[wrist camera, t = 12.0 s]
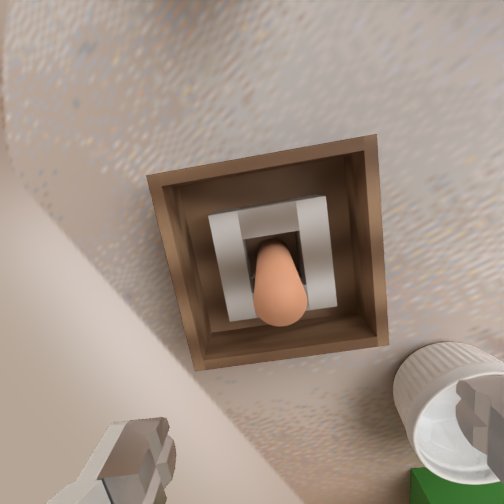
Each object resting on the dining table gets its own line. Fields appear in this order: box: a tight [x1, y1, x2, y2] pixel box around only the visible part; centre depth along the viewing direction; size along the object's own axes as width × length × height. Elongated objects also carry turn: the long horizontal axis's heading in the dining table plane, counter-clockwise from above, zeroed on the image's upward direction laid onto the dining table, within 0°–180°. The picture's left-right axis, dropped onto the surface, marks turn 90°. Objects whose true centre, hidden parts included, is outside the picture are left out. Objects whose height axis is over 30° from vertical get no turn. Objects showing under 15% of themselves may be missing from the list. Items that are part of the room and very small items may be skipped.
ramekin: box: [393, 342, 504, 485], centre depth 29 cm, size 13×13×7 cm
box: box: [146, 134, 389, 371], centre depth 26 cm, size 18×18×6 cm
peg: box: [254, 238, 307, 327], centre depth 22 cm, size 3×3×12 cm
